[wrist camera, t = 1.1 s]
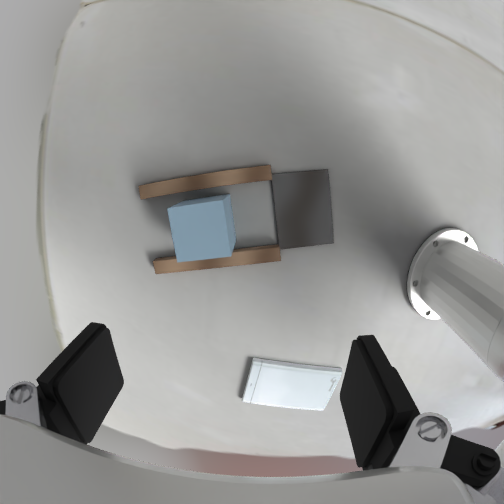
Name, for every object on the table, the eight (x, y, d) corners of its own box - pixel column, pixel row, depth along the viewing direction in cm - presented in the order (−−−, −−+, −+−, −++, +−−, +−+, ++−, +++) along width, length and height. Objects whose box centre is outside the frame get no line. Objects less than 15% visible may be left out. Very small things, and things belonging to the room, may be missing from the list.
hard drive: (343, 372, 35) (253, 362, 34) (323, 411, 37) (241, 403, 37) (340, 365, 36) (253, 354, 36) (321, 404, 39) (242, 396, 38)
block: (229, 193, 30) (222, 200, 24) (236, 239, 31) (231, 256, 25) (184, 200, 30) (167, 208, 24) (191, 245, 31) (177, 262, 26)
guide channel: (326, 160, 28) (329, 159, 27) (333, 251, 31) (335, 254, 30) (142, 185, 29) (138, 185, 28) (159, 270, 32) (155, 274, 31)
